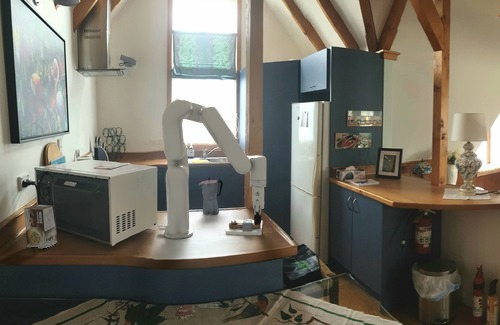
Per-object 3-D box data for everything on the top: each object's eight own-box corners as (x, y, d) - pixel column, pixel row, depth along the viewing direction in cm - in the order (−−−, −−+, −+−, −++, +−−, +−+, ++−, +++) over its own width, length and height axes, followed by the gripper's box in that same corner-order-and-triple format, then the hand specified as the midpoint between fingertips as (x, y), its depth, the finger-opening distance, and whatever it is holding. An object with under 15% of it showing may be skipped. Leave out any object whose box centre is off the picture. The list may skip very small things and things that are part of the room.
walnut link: (228, 228, 156) (228, 212, 155) (229, 225, 161) (229, 209, 160) (260, 228, 156) (260, 212, 155) (260, 225, 160) (260, 210, 159)
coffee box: (58, 243, 141) (55, 205, 139) (45, 249, 135) (43, 209, 133) (39, 241, 143) (36, 204, 141) (26, 247, 136) (23, 207, 134)
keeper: (229, 230, 154) (229, 222, 154) (231, 226, 161) (231, 218, 160) (251, 231, 154) (251, 223, 153) (252, 226, 160) (252, 219, 160)
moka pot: (194, 213, 189) (194, 177, 186) (217, 208, 199) (216, 174, 197) (204, 216, 182) (204, 179, 179) (227, 211, 192) (227, 176, 190)
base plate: (225, 234, 154) (225, 231, 154) (230, 222, 172) (230, 219, 172) (261, 235, 153) (261, 232, 153) (262, 223, 171) (262, 220, 171)
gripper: (266, 186, 147) (265, 228, 149) (266, 179, 163) (266, 217, 166) (248, 186, 148) (248, 227, 150) (250, 179, 164) (250, 217, 166)
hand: (257, 221), depth 158 cm, fingers closed on walnut link, 3 cm apart
